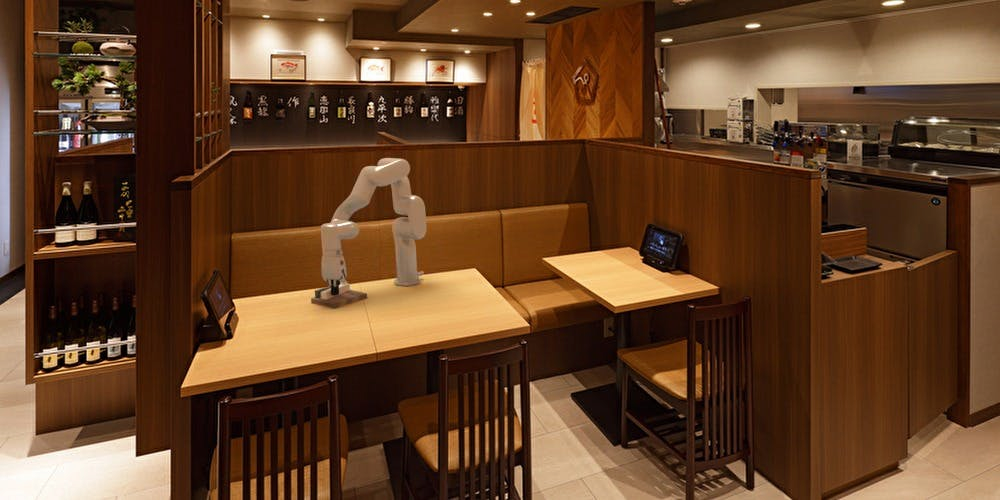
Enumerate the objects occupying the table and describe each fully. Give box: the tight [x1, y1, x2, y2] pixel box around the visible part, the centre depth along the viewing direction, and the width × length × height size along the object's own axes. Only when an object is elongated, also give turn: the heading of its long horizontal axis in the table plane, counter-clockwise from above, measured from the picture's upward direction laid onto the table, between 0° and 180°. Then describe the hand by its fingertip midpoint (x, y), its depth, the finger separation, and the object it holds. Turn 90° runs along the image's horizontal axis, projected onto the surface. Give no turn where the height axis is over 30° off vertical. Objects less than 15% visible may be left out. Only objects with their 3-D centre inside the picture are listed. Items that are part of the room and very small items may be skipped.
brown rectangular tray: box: [310, 285, 368, 310], centre depth 244 cm, size 18×15×5 cm
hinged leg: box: [321, 280, 351, 300], centre depth 245 cm, size 15×3×4 cm, turn 155°
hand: (335, 294), depth 241 cm, fingers closed
